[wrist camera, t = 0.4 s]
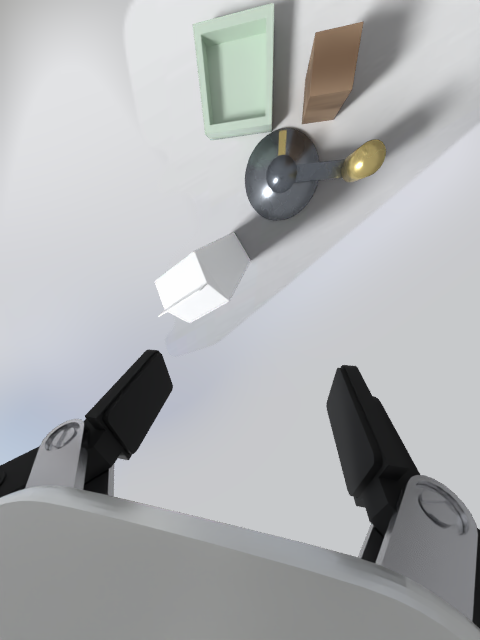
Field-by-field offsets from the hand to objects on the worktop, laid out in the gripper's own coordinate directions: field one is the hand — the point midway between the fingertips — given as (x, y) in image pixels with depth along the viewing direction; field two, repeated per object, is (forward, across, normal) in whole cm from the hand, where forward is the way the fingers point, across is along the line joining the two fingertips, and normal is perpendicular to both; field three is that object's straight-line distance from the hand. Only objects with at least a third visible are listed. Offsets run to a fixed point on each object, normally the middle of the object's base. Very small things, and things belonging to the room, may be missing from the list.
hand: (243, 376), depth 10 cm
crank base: (+29, -2, -12) cm, 31 cm away
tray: (+29, +4, -22) cm, 36 cm away
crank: (+26, -6, -12) cm, 29 cm away
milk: (+29, +7, -1) cm, 30 cm away
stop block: (+29, -6, -20) cm, 36 cm away
